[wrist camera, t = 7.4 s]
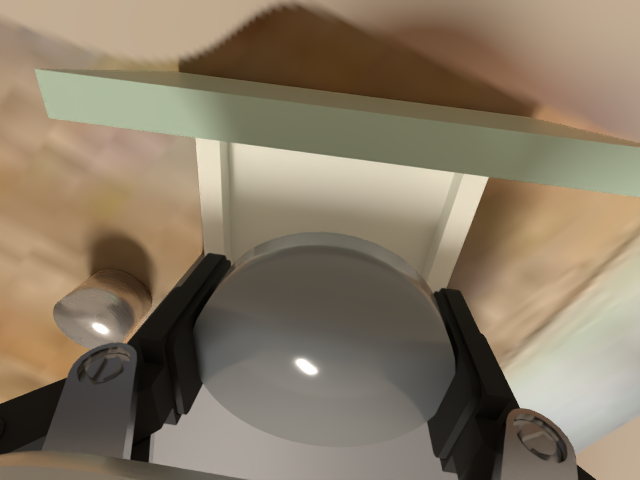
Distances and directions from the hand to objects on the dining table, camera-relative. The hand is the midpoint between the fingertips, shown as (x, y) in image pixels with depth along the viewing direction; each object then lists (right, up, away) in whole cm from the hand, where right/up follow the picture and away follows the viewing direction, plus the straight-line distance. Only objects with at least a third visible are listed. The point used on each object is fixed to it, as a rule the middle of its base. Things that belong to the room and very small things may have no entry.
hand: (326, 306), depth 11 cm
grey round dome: (0, 0, -1) cm, 1 cm away
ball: (-16, -2, +14) cm, 22 cm away
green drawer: (+1, +4, +9) cm, 10 cm away
